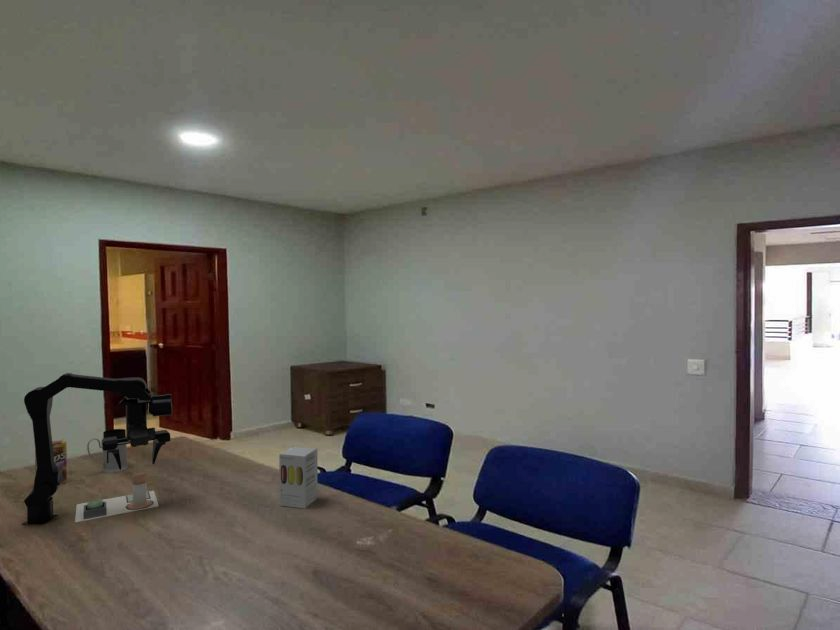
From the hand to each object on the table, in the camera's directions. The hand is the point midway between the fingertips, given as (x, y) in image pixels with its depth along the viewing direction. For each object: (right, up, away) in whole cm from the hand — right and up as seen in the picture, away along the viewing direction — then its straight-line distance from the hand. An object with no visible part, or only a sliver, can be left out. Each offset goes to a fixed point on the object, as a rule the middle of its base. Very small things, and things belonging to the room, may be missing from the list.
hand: (137, 466), depth 162 cm
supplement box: (+50, -13, +4) cm, 52 cm away
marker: (0, -12, +1) cm, 12 cm away
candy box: (-42, -13, +21) cm, 49 cm away
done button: (-9, -11, -6) cm, 15 cm away
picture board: (-6, -13, 0) cm, 14 cm away
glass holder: (-31, -13, +35) cm, 49 cm away
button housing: (-9, -13, -6) cm, 17 cm away
